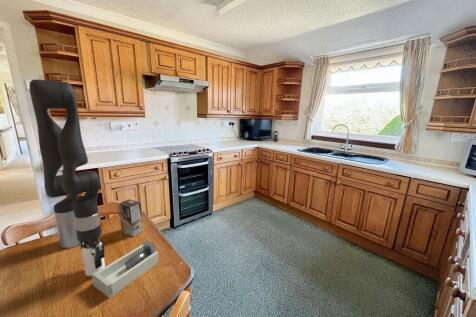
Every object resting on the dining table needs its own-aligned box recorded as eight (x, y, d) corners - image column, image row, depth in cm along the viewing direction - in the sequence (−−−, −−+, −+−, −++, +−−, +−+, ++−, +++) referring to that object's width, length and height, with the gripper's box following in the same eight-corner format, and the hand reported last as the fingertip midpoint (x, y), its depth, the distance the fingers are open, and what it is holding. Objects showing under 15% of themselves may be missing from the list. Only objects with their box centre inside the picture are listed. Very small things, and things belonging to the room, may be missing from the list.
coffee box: (143, 230, 107) (141, 202, 103) (133, 237, 101) (130, 207, 98) (131, 226, 111) (129, 198, 107) (120, 232, 105) (117, 203, 102)
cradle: (93, 285, 72) (91, 273, 71) (143, 253, 89) (142, 243, 88) (109, 298, 68) (107, 285, 67) (158, 261, 85) (158, 251, 84)
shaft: (124, 267, 80) (123, 254, 78) (148, 252, 88) (147, 240, 87) (132, 273, 77) (131, 259, 76) (155, 256, 86) (154, 244, 85)
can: (95, 278, 75) (91, 250, 73) (80, 275, 77) (76, 247, 74) (109, 266, 82) (105, 239, 79) (95, 263, 83) (91, 237, 80)
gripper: (67, 223, 75) (73, 262, 79) (86, 235, 68) (93, 278, 72) (89, 215, 82) (94, 251, 85) (109, 225, 75) (114, 264, 78)
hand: (94, 263), depth 79 cm, fingers closed on can, 6 cm apart
